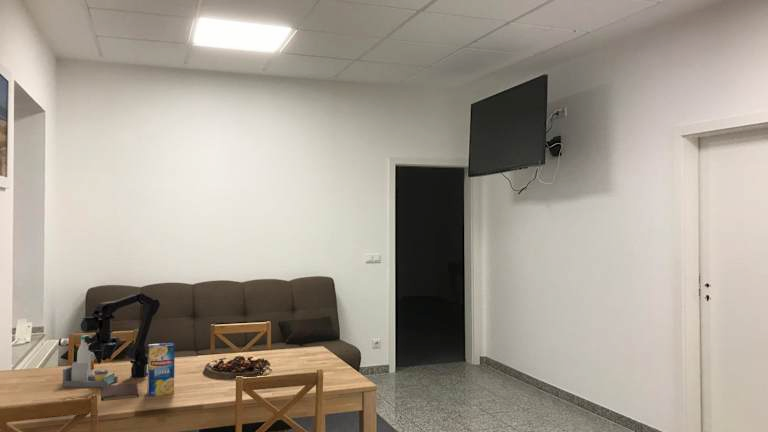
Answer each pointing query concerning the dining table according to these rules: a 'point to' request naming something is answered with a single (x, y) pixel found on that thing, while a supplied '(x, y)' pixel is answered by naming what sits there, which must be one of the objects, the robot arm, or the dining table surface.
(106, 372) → the jar
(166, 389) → the blue yellow food box
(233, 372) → the food dish
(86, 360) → the milk bottle
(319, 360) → the dining table surface
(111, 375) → the bar
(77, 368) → the grey angular block
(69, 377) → the lane
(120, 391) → the notebook
